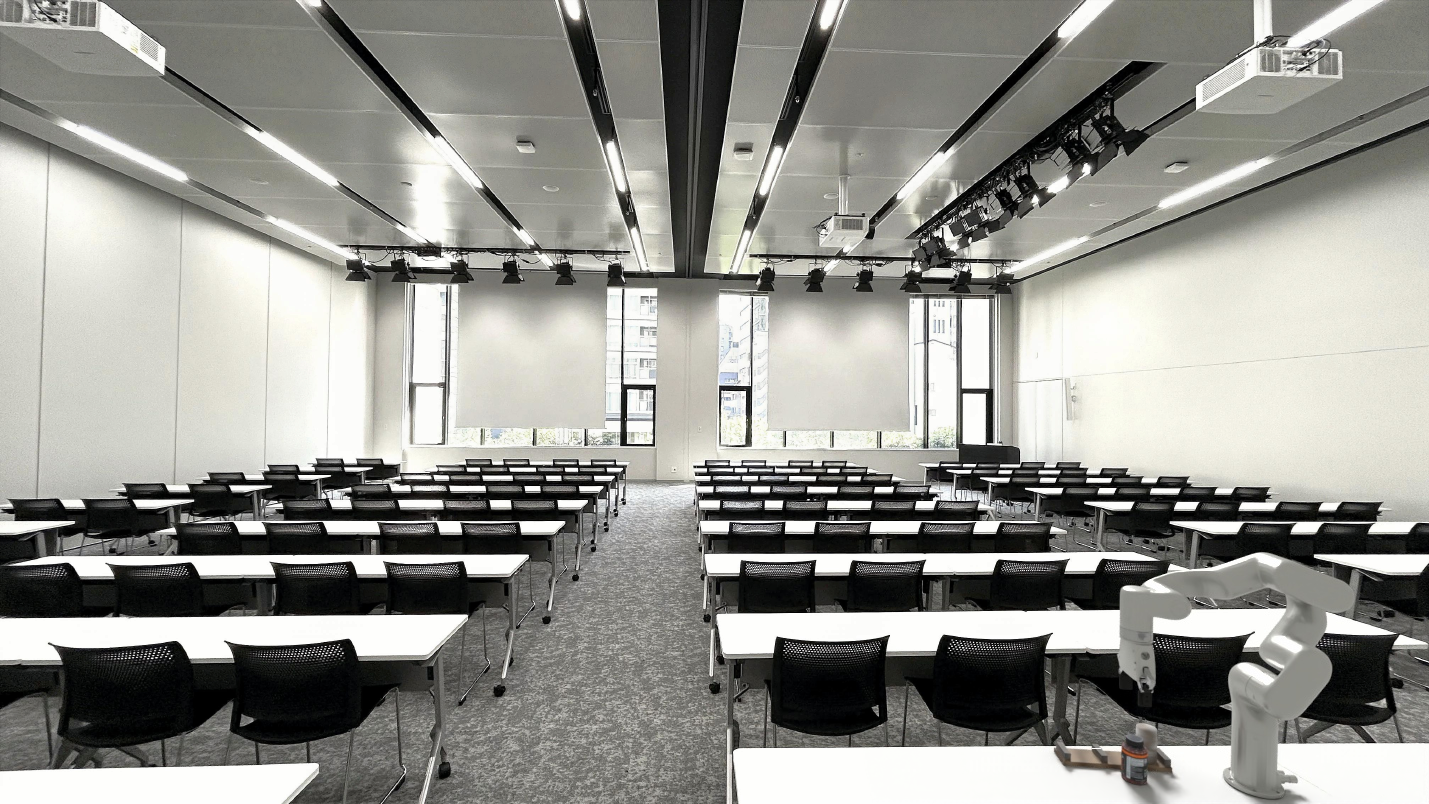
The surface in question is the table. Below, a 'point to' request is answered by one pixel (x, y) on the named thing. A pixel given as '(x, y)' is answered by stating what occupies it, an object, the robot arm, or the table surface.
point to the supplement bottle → (1134, 760)
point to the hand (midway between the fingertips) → (1135, 697)
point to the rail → (1116, 753)
